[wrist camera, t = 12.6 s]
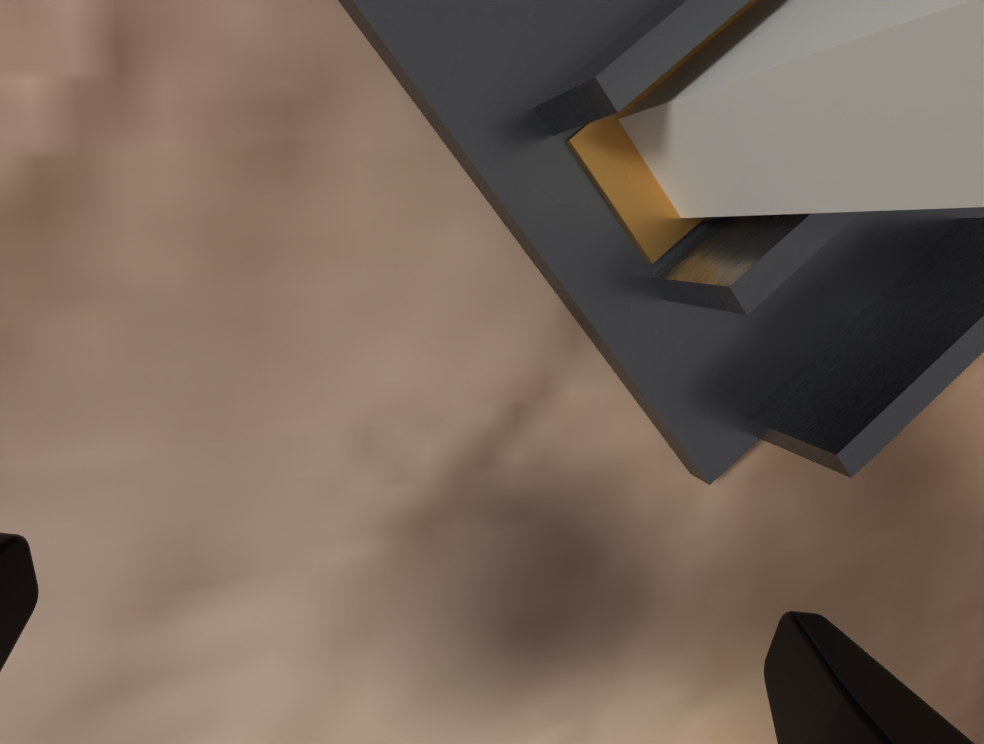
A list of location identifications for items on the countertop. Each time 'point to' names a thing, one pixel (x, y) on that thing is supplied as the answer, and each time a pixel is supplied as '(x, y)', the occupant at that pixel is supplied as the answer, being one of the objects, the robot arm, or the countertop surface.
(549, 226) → the panel rack
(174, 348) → the countertop surface
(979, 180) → the panel
